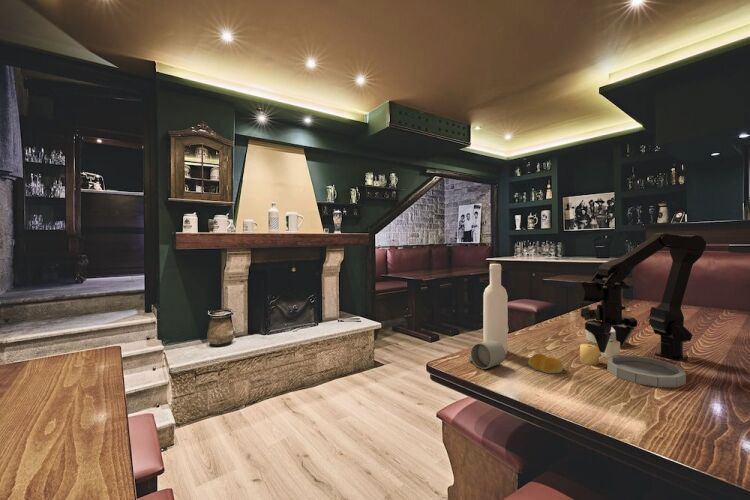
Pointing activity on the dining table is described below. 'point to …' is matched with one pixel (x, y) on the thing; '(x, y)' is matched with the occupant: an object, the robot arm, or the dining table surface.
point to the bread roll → (545, 364)
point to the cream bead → (612, 349)
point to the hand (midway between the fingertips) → (610, 350)
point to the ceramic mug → (487, 354)
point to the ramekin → (592, 339)
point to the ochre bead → (589, 354)
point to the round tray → (646, 371)
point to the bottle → (495, 309)
